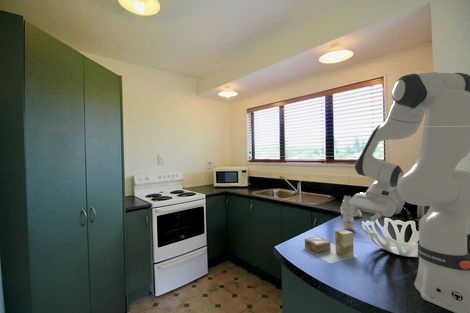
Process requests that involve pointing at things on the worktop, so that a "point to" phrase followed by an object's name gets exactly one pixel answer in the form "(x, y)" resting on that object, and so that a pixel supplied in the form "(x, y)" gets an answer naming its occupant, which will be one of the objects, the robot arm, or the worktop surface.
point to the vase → (400, 200)
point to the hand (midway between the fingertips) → (362, 218)
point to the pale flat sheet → (331, 255)
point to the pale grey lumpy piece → (356, 212)
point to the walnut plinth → (317, 245)
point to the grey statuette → (347, 214)
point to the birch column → (344, 243)
